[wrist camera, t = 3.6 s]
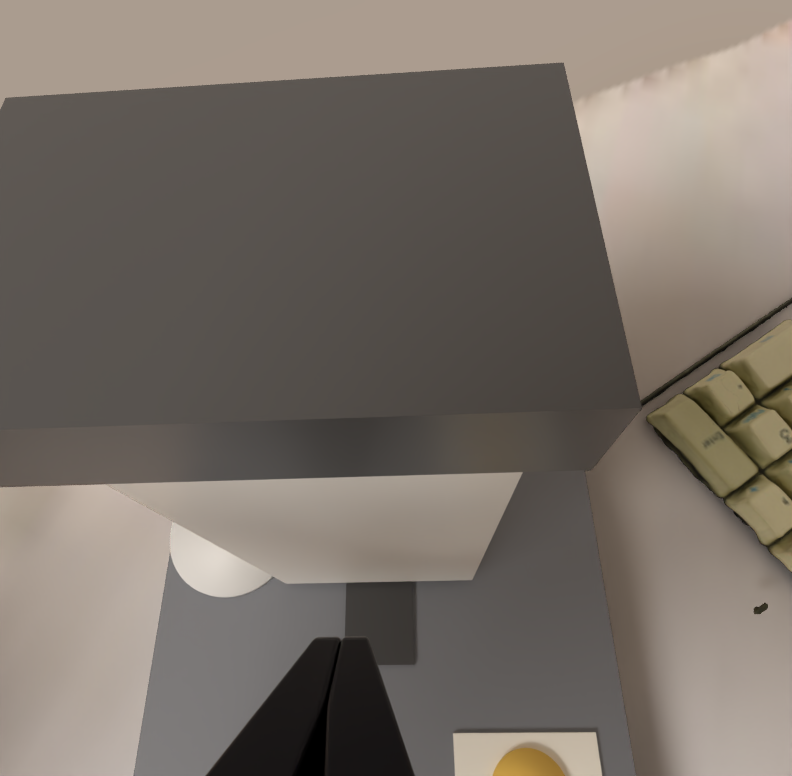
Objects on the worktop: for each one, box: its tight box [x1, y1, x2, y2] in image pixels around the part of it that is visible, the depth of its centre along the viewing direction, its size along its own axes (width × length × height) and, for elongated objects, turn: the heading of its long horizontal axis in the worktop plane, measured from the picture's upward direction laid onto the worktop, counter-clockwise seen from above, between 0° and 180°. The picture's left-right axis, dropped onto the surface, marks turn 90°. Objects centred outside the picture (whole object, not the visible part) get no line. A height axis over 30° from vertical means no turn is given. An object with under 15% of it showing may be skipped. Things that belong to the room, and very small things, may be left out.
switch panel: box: [134, 470, 636, 776], centre depth 16 cm, size 20×12×2 cm, turn 1°
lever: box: [0, 63, 642, 584], centre depth 10 cm, size 4×6×12 cm, turn 91°
